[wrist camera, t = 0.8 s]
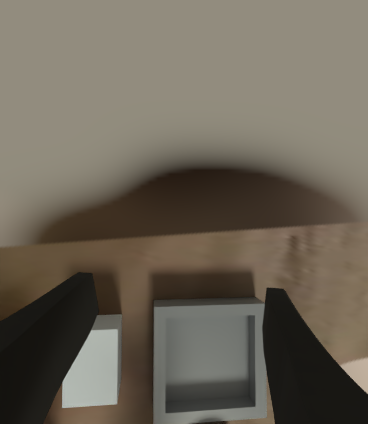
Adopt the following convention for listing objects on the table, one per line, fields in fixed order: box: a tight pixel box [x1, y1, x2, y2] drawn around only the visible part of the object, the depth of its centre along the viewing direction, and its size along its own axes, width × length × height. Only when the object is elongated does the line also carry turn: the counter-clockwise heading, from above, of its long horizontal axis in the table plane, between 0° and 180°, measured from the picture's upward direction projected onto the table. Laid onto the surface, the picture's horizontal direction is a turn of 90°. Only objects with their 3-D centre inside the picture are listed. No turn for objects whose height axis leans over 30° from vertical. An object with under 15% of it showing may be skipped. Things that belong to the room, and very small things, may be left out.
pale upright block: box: [62, 314, 122, 408], centre depth 31 cm, size 7×5×5 cm
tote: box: [153, 297, 267, 424], centre depth 33 cm, size 12×12×3 cm
